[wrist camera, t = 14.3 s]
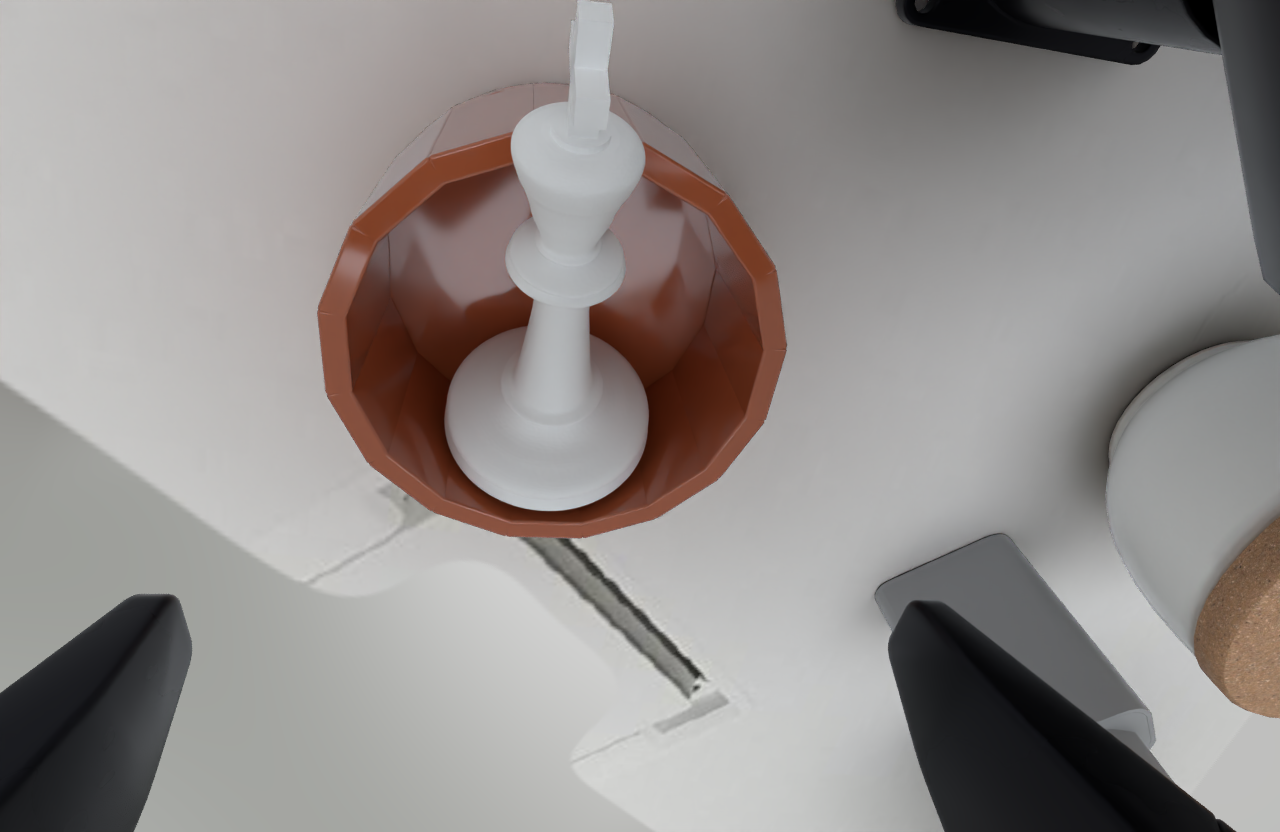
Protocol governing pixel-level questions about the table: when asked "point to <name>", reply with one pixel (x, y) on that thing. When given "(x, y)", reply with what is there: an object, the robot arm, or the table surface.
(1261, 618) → the trinket box
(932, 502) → the table surface
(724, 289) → the terracotta round bowl
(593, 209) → the chess piece
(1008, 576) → the power adapter
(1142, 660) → the table surface
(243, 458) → the table surface
